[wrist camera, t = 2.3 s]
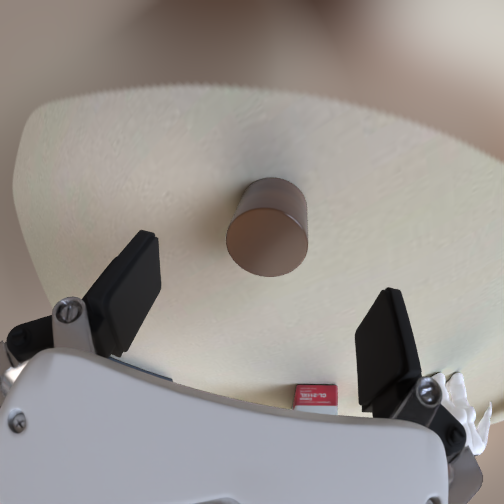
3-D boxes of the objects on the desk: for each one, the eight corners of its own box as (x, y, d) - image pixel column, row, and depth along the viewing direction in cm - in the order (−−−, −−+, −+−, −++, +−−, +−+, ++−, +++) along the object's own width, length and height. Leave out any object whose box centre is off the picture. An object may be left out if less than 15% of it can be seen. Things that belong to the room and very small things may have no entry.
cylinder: (227, 205, 17) (209, 240, 14) (275, 163, 15) (268, 191, 12) (271, 247, 18) (264, 289, 15) (320, 212, 16) (324, 251, 13)
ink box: (296, 382, 28) (285, 482, 19) (339, 384, 27) (337, 482, 18) (290, 410, 33) (281, 488, 24) (326, 411, 32) (321, 489, 23)
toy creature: (394, 390, 27) (400, 479, 18) (421, 363, 24) (436, 465, 14) (458, 388, 27) (471, 461, 17) (485, 364, 23) (504, 443, 14)
